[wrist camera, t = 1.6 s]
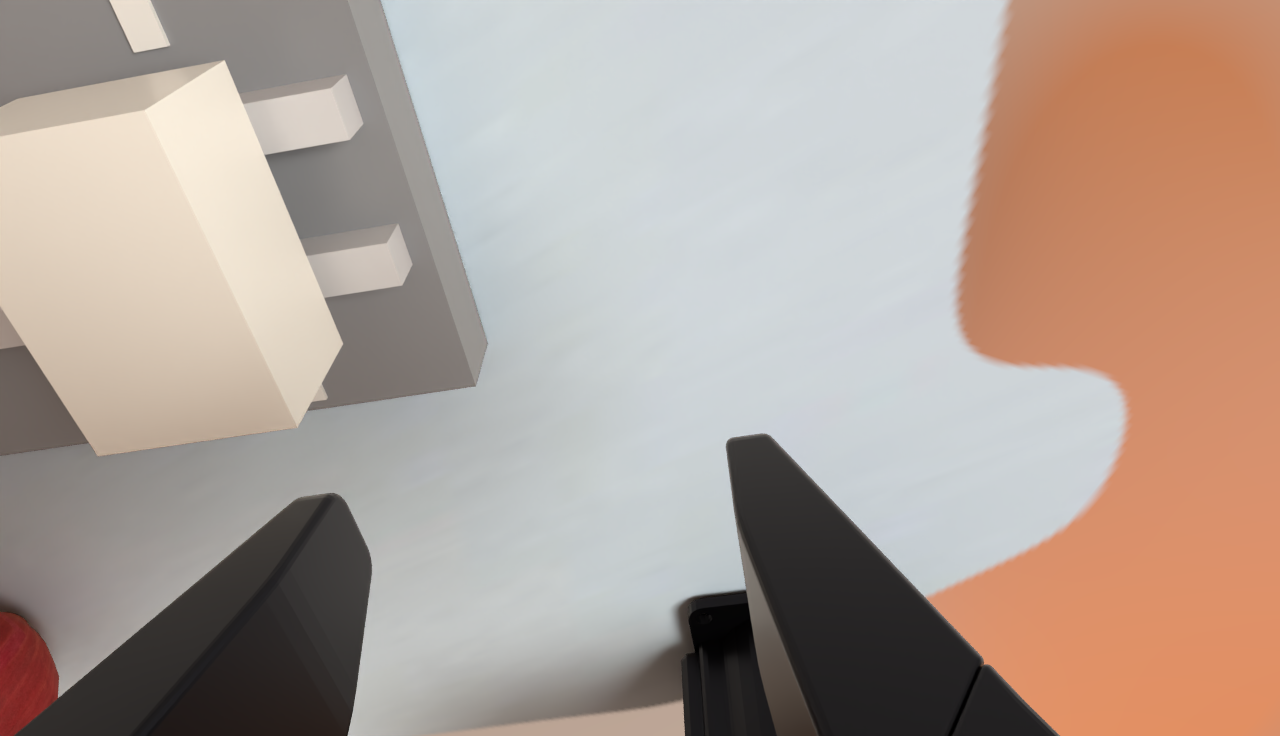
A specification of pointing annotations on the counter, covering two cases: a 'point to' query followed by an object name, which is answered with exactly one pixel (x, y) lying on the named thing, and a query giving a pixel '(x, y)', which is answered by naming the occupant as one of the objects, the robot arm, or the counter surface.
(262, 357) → the fader tab
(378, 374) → the fader console
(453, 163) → the counter surface
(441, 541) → the counter surface
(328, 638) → the robot arm
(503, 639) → the counter surface
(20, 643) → the onion
